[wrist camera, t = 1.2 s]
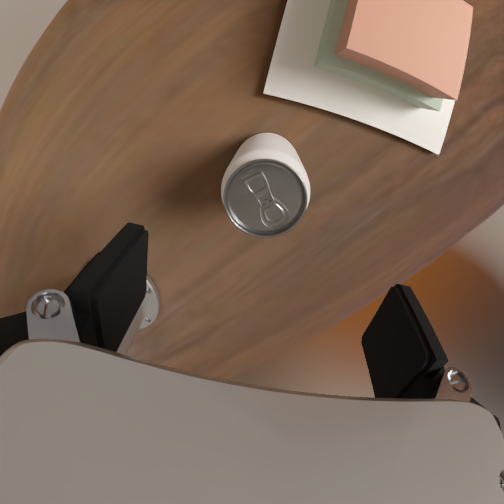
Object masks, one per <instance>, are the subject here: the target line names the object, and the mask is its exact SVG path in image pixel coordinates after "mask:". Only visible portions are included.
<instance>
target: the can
mask: <svg viewBox="0 0 504 504" xmlns="http://www.w3.org/2000/svg"><path fill="white" fill-rule="evenodd" d="M221 197H222V202H223V205H224V207H225V210H226V213H227V215H228V217H229V219H230V220H231V221H232V223H233V224H234V225H235V226H236V227H237V228H239V229H240V230H241V231H243V232H245V233H247V234H249V235H252V236H255V237H261V238H271V237H276V236H280V235H283V234H285V233H287V232H288V231H290V230H291V229H293V228H294V227H295V226H296V225H297V224H298V223H299V222H300V220H301V219H302V217H303V215H304V213H305V211H306V209H307V206H308V203H309V199H310V183H309V179H308V176H307V173H306V171H305V169H304V167H303V165H302V162H301V160H300V158H299V156H298V154H297V152H296V151H295V149H294V147H293V146H292V145H291V143H290V142H289V141H288V140H286V139H285V138H283V137H282V136H279V135H277V134H273V133H260V134H256V135H254V136H252V137H250V138H248V139H247V140H246V141H245V142H244V143H243V144H242V145H241V146H240V148H239V149H238V151H237V152H236V154H235V156H234V157H233V159H232V161H231V162H230V164H229V166H228V168H227V170H226V172H225V174H224V177H223V180H222V185H221Z"/></svg>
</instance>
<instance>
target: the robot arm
mask: <svg viewBox="0 0 504 504" xmlns="http://www.w3.org/2000/svg"><path fill="white" fill-rule="evenodd" d="M147 252H148V231H146V230H144V226H142V225H138V224H134V223H127V224H126V225H125V226H124V227H123V228H122V230H121V231H120V232H119V233H118V234H117V235H116V236H115V237H114V238H113V239H112V240H111V241H110V242H109V243H108V244H107V246H106V247H105V248H104V249H103V250H102V251H101V252H99V253H97V254H96V255H95V256H94V257H93V259H92V260H91V261H90V262H89V263H88V264H87V265H86V266H85V268H84V269H83V270H82V271H81V272H80V273H79V275H78V276H77V277H76V278H75V279H74V280H73V282H72V283H71V284H70V285H69V286H68V288H67V289H66V290H65V291H64V292H62V291H59V290H55V289H46V290H43V291H39V292H38V293H36V294H34V295H33V296H32V297H31V298H30V299H29V301H28V303H27V308H26V312H23V313H19V314H16V315H12V316H8V317H4V318H0V504H504V436H503V435H502V433H501V427H500V422H499V420H498V418H497V417H496V416H495V415H493V414H492V413H491V412H489V411H488V410H487V409H486V408H484V407H483V406H482V405H480V404H479V403H478V402H477V401H476V400H474V399H473V398H472V397H471V394H472V384H471V381H470V379H469V377H468V376H467V375H466V374H465V373H464V372H463V371H462V370H460V369H458V368H456V367H448V368H447V369H446V370H445V369H444V365H445V364H446V363H447V362H448V359H447V357H446V354H445V352H444V350H443V349H442V346H441V344H440V342H439V340H438V338H437V336H436V334H435V332H434V330H433V328H432V326H431V324H430V322H429V320H428V318H427V316H426V314H425V312H424V311H423V309H422V307H421V305H420V303H419V301H418V300H417V298H416V296H415V294H414V292H413V291H412V289H411V288H410V287H409V286H405V285H400V284H396V285H395V286H394V287H391V288H390V290H389V291H388V293H387V295H386V297H385V298H384V300H383V302H382V304H381V306H380V307H379V309H378V311H377V312H376V314H375V316H374V318H373V319H372V321H371V323H370V324H369V326H368V328H367V329H366V331H365V332H364V334H363V336H362V346H363V350H364V354H365V358H366V361H367V365H368V369H369V373H370V377H371V382H372V386H373V390H374V394H375V398H368V397H350V396H338V395H326V394H315V393H307V392H298V391H290V390H283V389H275V388H269V387H263V386H257V385H250V384H245V383H240V382H234V381H229V380H224V379H219V378H214V377H209V376H205V375H200V374H196V373H191V372H187V371H183V370H179V369H175V368H171V367H167V366H164V365H160V364H156V363H152V362H148V361H145V360H141V359H137V358H134V357H130V356H127V353H128V350H129V348H130V346H131V344H132V342H133V340H134V338H135V335H136V333H137V331H138V329H143V328H145V327H148V326H149V325H151V324H152V323H153V322H154V320H155V319H156V317H157V315H158V312H159V309H160V298H159V294H158V291H157V289H156V287H155V285H154V283H153V282H152V280H151V279H150V278H149V277H148V275H147Z"/></svg>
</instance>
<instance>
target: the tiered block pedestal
mask: <svg viewBox="0 0 504 504" xmlns="http://www.w3.org/2000/svg"><path fill="white" fill-rule="evenodd" d="M472 13H473V7H472V6H470V5H469V4H467V3H466V2H465V1H463V0H287V4H286V8H285V11H284V15H283V19H282V22H281V26H280V30H279V34H278V37H277V41H276V45H275V49H274V53H273V57H272V61H271V64H270V68H269V72H268V76H267V80H266V84H265V88H264V92H263V94H267V95H271V96H276V97H280V98H284V99H288V100H292V101H295V102H299V103H303V104H306V105H310V106H313V107H317V108H320V109H323V110H327V111H330V112H333V113H336V114H339V115H342V116H345V117H348V118H351V119H354V120H357V121H359V122H362V123H365V124H368V125H370V126H373V127H376V128H378V129H381V130H383V131H386V132H388V133H391V134H393V135H396V136H398V137H400V138H403V139H405V140H407V141H410V142H412V143H414V144H416V145H418V146H421V147H423V148H425V149H427V150H429V151H431V152H433V153H436V154H438V155H439V153H440V150H441V147H442V144H443V141H444V138H445V134H446V131H447V128H448V124H449V121H450V117H451V113H452V110H453V106H454V102H455V100H457V99H458V95H459V91H460V86H461V82H462V77H463V72H464V67H465V62H466V57H467V51H468V45H469V38H470V31H471V23H472Z"/></svg>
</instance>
